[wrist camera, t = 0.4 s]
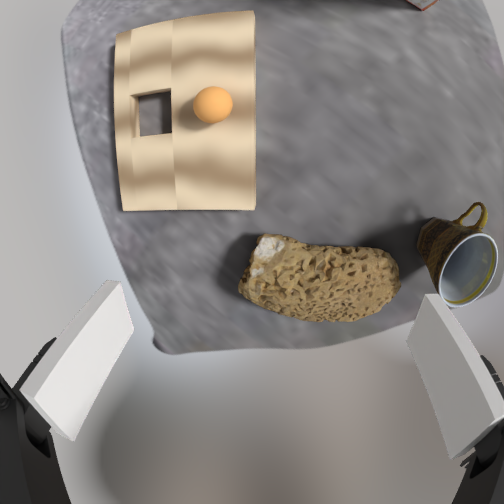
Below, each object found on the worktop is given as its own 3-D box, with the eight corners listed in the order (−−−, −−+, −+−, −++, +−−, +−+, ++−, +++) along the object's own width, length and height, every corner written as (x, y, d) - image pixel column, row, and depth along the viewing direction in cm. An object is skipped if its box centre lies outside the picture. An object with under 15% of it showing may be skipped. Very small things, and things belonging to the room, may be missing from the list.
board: (125, 38, 25) (116, 34, 23) (255, 18, 23) (253, 10, 21) (131, 205, 35) (123, 210, 33) (255, 204, 34) (254, 210, 32)
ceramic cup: (448, 271, 35) (479, 307, 26) (398, 266, 36) (426, 307, 27) (471, 192, 30) (514, 216, 21) (420, 178, 30) (462, 199, 21)
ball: (198, 90, 26) (187, 85, 22) (235, 88, 26) (229, 82, 22) (199, 124, 28) (188, 124, 24) (235, 122, 27) (229, 122, 24)
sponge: (242, 283, 41) (362, 336, 38) (226, 302, 33) (370, 364, 31) (277, 199, 37) (404, 259, 35) (268, 200, 30) (424, 274, 27)
